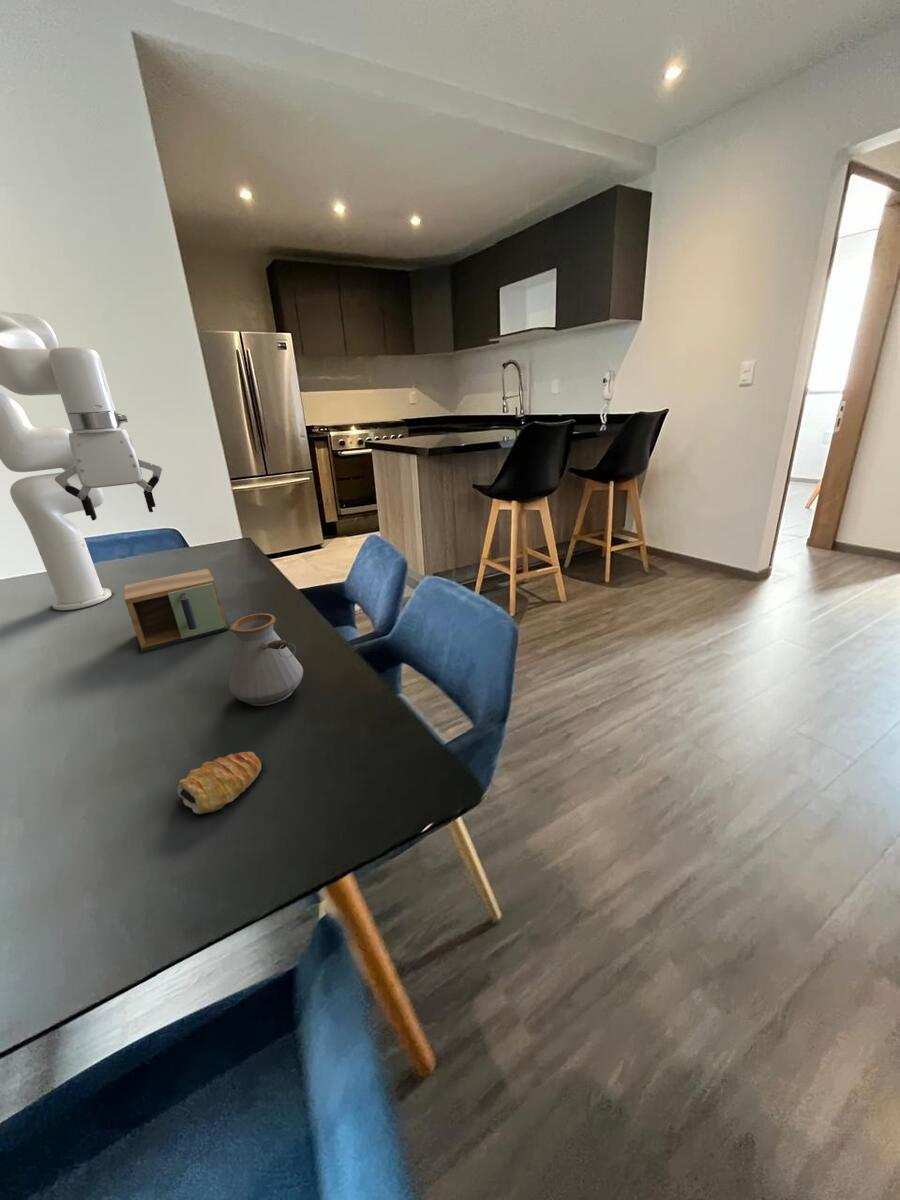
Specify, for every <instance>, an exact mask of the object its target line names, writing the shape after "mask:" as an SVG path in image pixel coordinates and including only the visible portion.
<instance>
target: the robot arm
mask: <svg viewBox="0 0 900 1200" xmlns="http://www.w3.org/2000/svg"><path fill="white" fill-rule="evenodd" d="M0 386H1V387H3V388H5V389H7V390H8V391H10V392H12V393H14V394H17V395H21V396H54V395H57V396H58V395H60V398H61V401H62V404H63V407H64V410H65V413H66V417H67V419H68V423H69V425H70V429H71V431H70V429H67V428H65V427H61V426H45V427H44V426H43V427H35V426H34V425H33V424H32V423H31V422H30V420H29V418H28V416H27V414H26V412H25V410H24V409H23V407H22V406H21V405H20V404H19V403H18V402H17V401H15V400H14V399H13V398H11V397H10V396H9V395H7V394H5V393H4V392H2V391H0V461H1V463H2V465H4V466H5V468H6V469H8V470H9V471H10V472H15V473H32V472H40V471H41V472H42V471H47V470H54V469H55V470H56V469H62V470H63V471H62V472H56V473H46V474H40V475H39V474H38V475H31V476H26V477H22V478H19V479H18V480H16V481H15V482H13V483H12V484H11V486H10V489H9V494H10V497H11V500H12V502H13V503H14V505H15V507H16V509H17V510H18V512H19V513H20V515H21V516H22V518H23V520H24V521H25V524H26V526H27V528H28V530H29V532H30V534H31V536H32V538H33V541H34V544H35V546H36V549H37V551H38V553H39V556H40V558H41V561H42V563H43V566H44V568H45V571H46V573H47V577H48V578H49V581H50V584H51V586H52V588H53V590H54V593H55V596H56V599H55V600H53V601H52V603H51V607H52V609H53V610H56V611H73V610H79V609H84V608H87V607H91V606H94V605H96V604H99V603H102V602H104V601H107V600H108V599H109V598H110V597H111V596H112V591H111V589H110V588H106V587H102V584H101V581H100V579H99V576H98V573H97V570H96V567H95V564H94V562H93V559H92V556H91V554H90V550H89V548H88V545H87V542H86V540H85V537H84V534H83V532H82V530H81V528H80V527H79V526H78V525H76V524H75V523H73V522H71V521H70V520H68V519H67V518H66V517H64V516H65V515H68V514H71V513H76V512H82V511H84V513H85V516H86V517H89V516H90V519H91V521H96V520H97V518H98V517H97V514H96V509H95V508H98V507H100V506H101V505H102V504H103V503H104V497H105V496H104V492H103V488H108V487H117V486H127V485H134V484H136V485H138V486H139V487H140V488H142V489H143V491H142V492H143V495H144V499H145V503H146V507H147V509H148V512H149V513H154V510H153V508H156V507H157V506H156V503H155V499H154V496H153V495H154V494H153V492H152V491H153V490H154V488H155V487H156V486H157V484H158V483H159V482H160V478H161V475H162V470H163V469H162V467H161V466H160V465H157V464H155V463H151V462H148V461H145V460H142V459H139V458H138V456H137V453H136V450H135V447H134V444H133V442H132V439H131V437H130V435H129V433H128V431H127V430H126V429H125V428H122V427H121V425H122V424H124V423H128V418H127V414H121V413H120V414H119V413H117V411H116V407H115V403H114V400H113V396H112V393H111V389H110V386H109V383H108V379H107V375H106V373H105V369H104V365H103V362H102V359H101V356H100V355H99V353H97V351H95V349H92V348H87V347H80V346H79V347H77V346H75V347H74V346H73V347H71V346H69V347H68V346H67V347H59V341H58V338H57V335H56V333H55V331H54V330H53V328H52V327H51V325H50V324H49V323H48V321H46V320H45V319H44V318H41V317H39V316H38V315H35V314H30V313H17V312H7V311H6V312H5V311H0ZM142 468H143V469H146V470H149V471H151V472H152V475H151V477H150V478H149V480H148V481H146V480H145V479H144V478H143V474H142Z"/></svg>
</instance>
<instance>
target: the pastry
mask: <svg viewBox="0 0 900 1200" xmlns="http://www.w3.org/2000/svg"><path fill="white" fill-rule="evenodd" d="M261 770H262V762H261V760H260V759H259V757H258V756H257V755H256V754H255V753H254V752H253V751H239V752H236V753H229V754H228V755H226V756H224V757H223V756H221V757H220V756H218V757H217V758H216V759H214V760H212V761H204V762H203V763H202V764H201V766H200V767H197V768H194V769H191V770H189V771H188V773H187V776H186V778H183V779H180V780H179V782H178V786H177V790H176V792H177V796H178V797H179V798H180V799H182V803H183V805H185V807H188V808H190V809H191V810H192V812H193V813H195V814H196V815H203V814H210V813H211V814H212V813H215V812H216V811H218V810H221V809H223V807H224V806H225V805H227V804H229V803H231V802H233V801H234V800H235V799H237V798H238V797H239V796H240V794H242V793H243V792H245V791H246V789H247V788H249V787H250V785H251V784H252V783H253V782H254V781H256V779H257V778H258V775H259V773H261Z"/></svg>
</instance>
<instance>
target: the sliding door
mask: <svg viewBox="0 0 900 1200" xmlns="http://www.w3.org/2000/svg"><path fill="white" fill-rule="evenodd" d="M168 596H169V599H170V602H171V606H172V609H173V612H174V616H175V619H176V622H177V625H178V629H179V632H180V635H181V638H182V639H183V638H187V637H191V636H194V635H198V634H202V633H206V632H210V631H213V630H217V629H221V628H224V625H223V621H222V617H221V614H220V610H219V606H218V602H217V599H216V595H215V591H214V587H213V584H212V583H210V584H206V585H201V586H197V587H192V588H188V589H183V590H179V591H174V592H169V593H168Z"/></svg>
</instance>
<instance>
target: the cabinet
mask: <svg viewBox="0 0 900 1200" xmlns="http://www.w3.org/2000/svg"><path fill="white" fill-rule="evenodd" d="M210 583H212V584H213V587H214V591H215V595H216V599H217V602H218V606H219V610H220V614H221V617H222V621H223V625H224V628H221V629H217V630H213V631H210V632H206V633H202V634H198V635H194V636H191V637H187V638H183V639H182V638H181V635H180V632H179V629H178V625H177V622H176V619H175V616H174V612H173V609H172V606H171V602H170V599H169V596H168V593H169V592H174V591H179V590H183V589H188V588H192V587H197V586H201V585H206V584H210ZM124 603H125V605H126V608H127V611H128V614H129V617H130V619H131V623H132V625H133V628H134V631H135V634H136V637H137V640H138V642H139V646H140V648H141V653H146V652H150V651H154V650H157V649H158V650H159V649H163V648H165V647H166V648H167V647H169V646H172V645H176V644H177V645H178V644H180V643H185V642H188V641H192V640H195V639H199V638H204V637H207V636H210V635H215V634H218V633H222V632H226V631H228V630H229V628H228V626H227V623H226V619H225V615H224V612H223V607H222V603H221V600H220V595H219V592H218V589H217V585H216V581H215V579H214V577H213V575H212V573H211V572H210V570H209V568H202V569H197V570H192V571H187V572H184V573H178V574H174V575H173V574H172V575H168V576H164V577H163V576H162V577H158V578H154V579H149V580H144V581H140V582H134V583H129V584H125V585H124Z"/></svg>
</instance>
